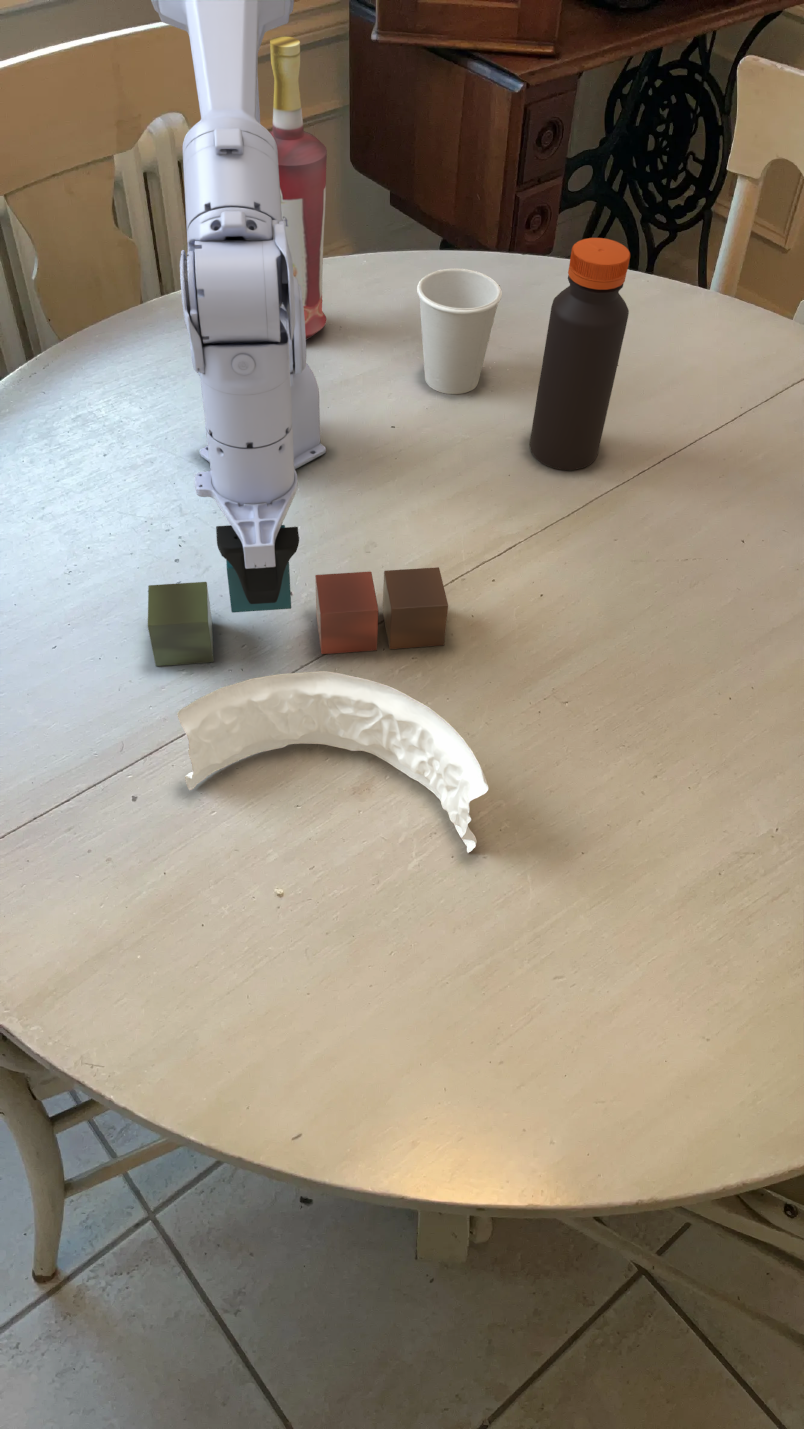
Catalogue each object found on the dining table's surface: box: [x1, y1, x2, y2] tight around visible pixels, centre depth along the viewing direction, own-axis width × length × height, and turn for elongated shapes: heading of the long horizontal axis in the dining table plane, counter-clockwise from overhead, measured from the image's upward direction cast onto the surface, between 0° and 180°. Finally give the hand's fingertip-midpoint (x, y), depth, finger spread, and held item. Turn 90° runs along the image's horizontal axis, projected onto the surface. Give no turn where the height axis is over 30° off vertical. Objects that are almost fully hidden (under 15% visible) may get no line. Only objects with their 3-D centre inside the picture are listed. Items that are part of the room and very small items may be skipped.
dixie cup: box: [416, 268, 503, 395], centre depth 107 cm, size 8×8×10 cm
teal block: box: [225, 524, 292, 614], centre depth 79 cm, size 4×4×4 cm
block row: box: [147, 566, 449, 667], centre depth 84 cm, size 23×4×4 cm, turn 98°
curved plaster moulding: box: [176, 670, 489, 854], centre depth 72 cm, size 11×20×8 cm, turn 97°
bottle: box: [528, 237, 631, 471], centre depth 96 cm, size 7×7×20 cm
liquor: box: [269, 36, 328, 340], centre depth 105 cm, size 7×7×28 cm
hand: (261, 577), depth 80 cm, fingers closed on teal block, 4 cm apart
